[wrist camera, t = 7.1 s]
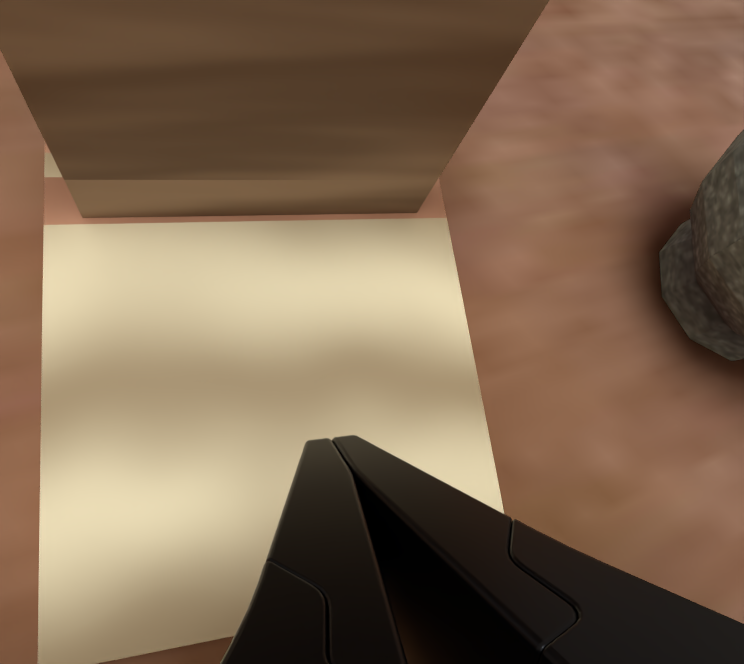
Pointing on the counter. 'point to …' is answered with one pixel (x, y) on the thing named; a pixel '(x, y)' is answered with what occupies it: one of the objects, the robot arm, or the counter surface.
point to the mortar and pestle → (711, 260)
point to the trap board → (227, 401)
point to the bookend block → (257, 98)
